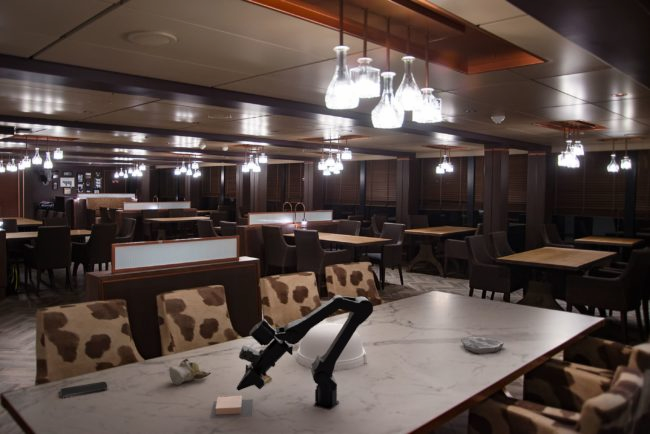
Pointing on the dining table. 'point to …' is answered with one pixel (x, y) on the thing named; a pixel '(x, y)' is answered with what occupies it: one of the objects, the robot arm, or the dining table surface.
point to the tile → (229, 405)
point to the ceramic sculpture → (186, 372)
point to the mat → (245, 411)
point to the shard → (267, 378)
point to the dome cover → (320, 342)
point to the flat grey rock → (482, 344)
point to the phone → (83, 389)
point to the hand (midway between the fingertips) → (237, 389)
